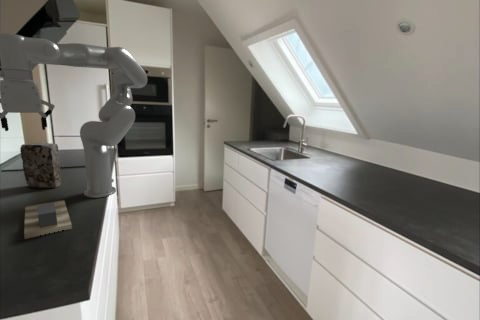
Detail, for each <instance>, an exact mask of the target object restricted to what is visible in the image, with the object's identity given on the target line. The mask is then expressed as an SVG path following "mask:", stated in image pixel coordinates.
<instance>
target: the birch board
mask: <svg viewBox="0 0 480 320" xmlns="http://www.w3.org/2000/svg"><path fill="white" fill-rule="evenodd" d="M52 203H54V205H55V210H56V217H57V225H58V226H57V227H52V228H47V229H42V230H40V226H39V219H38V207H37V206H40V205H46V204H52ZM23 226H24V229H23V230H24V231H23V234H24V235H23V236H24V240H27V239H31V238H36V237H40V235H41V236H44V235H45V234H46V235H49V233H50V234H54V232H55V233H59V232H63V231H62V230H64V231H68V230H72V229H73V225H72V221H71V217H70V215H69V211H68V209H67V205H66V200H64V199H63V200H55V201H51V202H43V203H38V204H33V205H32V204H31V205H26V206H25V207H24V225H23ZM58 231H59V232H58ZM46 235H45V236H46Z"/></svg>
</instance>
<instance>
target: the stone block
mask: <svg viewBox="0 0 480 320" xmlns="http://www.w3.org/2000/svg"><path fill="white" fill-rule="evenodd" d="M19 150H20V157H21V160H22V169H23V175H24V179H25V181H26V184H27V186H28V188H29V189H31V188H33V189H35V188H36V189H38V188H40V189H42V188H43V189H45V188H47V189H48V188H49V189H50V188H51V189H53V188H58V187H60V186H61V183H62V181H61V166H60V155H59V153H60V151H59V146H58V144H57V143H51V142H50V143H49V142H47V143H45V142H44V143H43V142H42V143H40V142H38V143H37V142H35V143H34V142H33V143H32V142H31V143H24V144H21V145H20V148H19Z"/></svg>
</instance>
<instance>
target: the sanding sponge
mask: <svg viewBox="0 0 480 320" xmlns="http://www.w3.org/2000/svg"><path fill="white" fill-rule="evenodd" d="M37 207H38V219H39V226H40V230H42V229H47V228H52V227H57V226H58V225H57V217H56V210H55V205H54V203H52V204H46V205H40V206H37Z"/></svg>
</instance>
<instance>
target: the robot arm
mask: <svg viewBox="0 0 480 320" xmlns="http://www.w3.org/2000/svg"><path fill="white" fill-rule="evenodd" d="M32 64H40V65H50V66H51V65H54V66H65V67H75V68H91V69H108V70H111V69H112V70H115V71H114V72H113V75H112V81H113V86H114V87H113V88H114V92H113V94H112V95H111V97H110V98H109V99H108V100H107V101H106V102H105V103H104V104H103V106H102V107H101V108H100V109H99V111H98V119H99V121H97V120H90V121H87V122H85V123H83V124H82V125H81V127H80V129H79V137H80V140H81V144H82V148H83V153H84V154H83V155H84V165H85V173H86V174H85V175H86V184H87V186H86V187H87V189H85V190H84V191H83V196H84V197H87V198H92V199H94V198H96V199H98V198H106V197H109V196H112V195H114V194H115V193H116V192H117V188H116V187H115V186H113V182H114V181H115V180H114V178H112V170H111V169H112V168H111V167H112V166H111V153H110V149H109V147H114V146H116V145H118V144H119V143H120V142H121V141H122V140H123V138H124V137H125V136H126V134H127V133H128V132H129V131H130V130H131V128H132V126H133V125H134V123H135V120H136V112H135V110H134V109H133V107H131V106H132V104H133V99H134V98H133V95H132V93H133V92H132V90H131V89H142V88H144V87H146V86H147V83H148V76H147V73H146V71H145V70H144V69H143V67H142V66H141V65H140V64H139V62H138V61H137V60H136V59H135V58H134V56H132V54H131V53H130V52H129V51H128V50H127V49H125V48H123V47H121V46H109V47H108V46H107V47H106V46H101V45H93V44H86V43H81V42H80V43H77V42H76V43H74V42H72V43H55V42H54V41H51V40H50V39H47V38H38V37H37V38H36V37H28V36H23V35H20V34H16V33H15V34H14V33H9V32H8V33H6V32H5V33H4V32H2V33H0V66H1V70H0V77H1V78H2V79H0V104H1V109H2V112H0V125H1V129H4V131H5V132H8V131H9V124H8V118H7V115H8V114H9V113H10V114H11V113H12V114H14V113H15V114H16V113H20V114H21V113H22V114H23V113H24V114H25V113H27V114H28V113H29V114H30V113H31V114H33V113H34V114H35V113H37V114H38V115H40V123H41V129H42V130H43V131H45V130H46V128H48V122H47V119H48V117H49V116H50V115H51V114H52V112H53V110H54V109H55V107H56V106H55V104H53V103H50V102H48V101H46V100H43V99H42V98H41V92H40V88H39V85H38V82H37V81H34V80H35V79H34V74H33V73H34V72H33V67H32V66H33V65H32ZM43 105H44V106H46V107H48V109H47V110H46V111H45V112H44V111H42V110H43Z"/></svg>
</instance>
